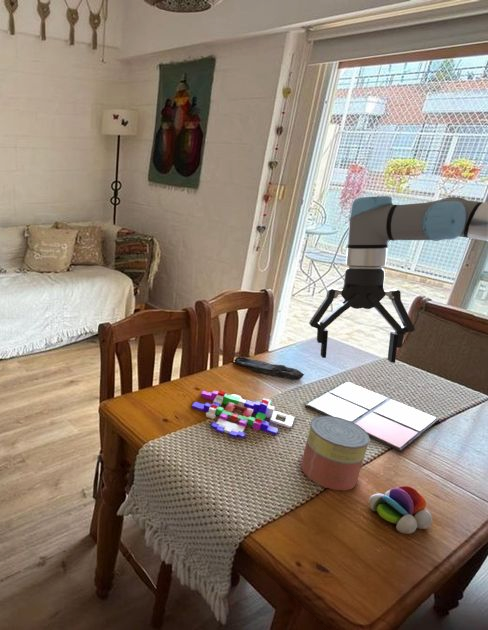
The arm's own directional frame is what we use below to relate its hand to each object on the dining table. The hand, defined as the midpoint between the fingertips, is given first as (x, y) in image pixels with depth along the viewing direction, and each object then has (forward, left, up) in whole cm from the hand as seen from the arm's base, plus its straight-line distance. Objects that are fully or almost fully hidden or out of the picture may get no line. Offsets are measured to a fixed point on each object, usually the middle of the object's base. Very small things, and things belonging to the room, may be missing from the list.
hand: (356, 358), depth 102 cm
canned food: (-5, +13, -24) cm, 28 cm away
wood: (+32, -19, -24) cm, 44 cm away
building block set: (+20, +11, -24) cm, 33 cm away
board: (+1, -21, -24) cm, 32 cm away
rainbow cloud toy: (-20, +14, -24) cm, 34 cm away
